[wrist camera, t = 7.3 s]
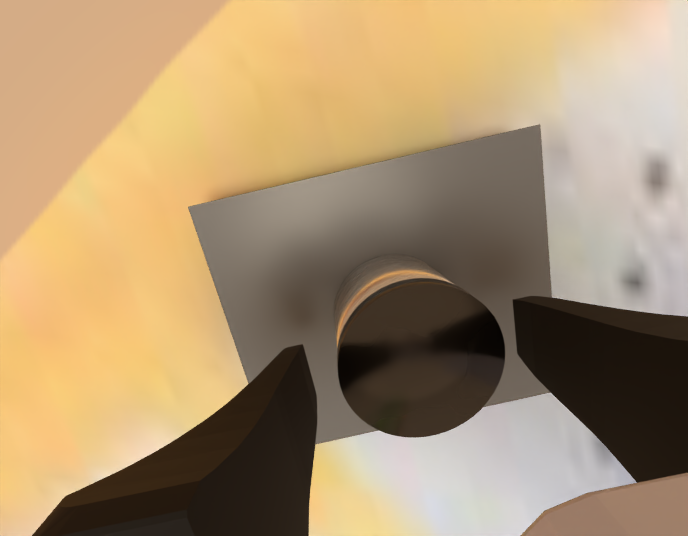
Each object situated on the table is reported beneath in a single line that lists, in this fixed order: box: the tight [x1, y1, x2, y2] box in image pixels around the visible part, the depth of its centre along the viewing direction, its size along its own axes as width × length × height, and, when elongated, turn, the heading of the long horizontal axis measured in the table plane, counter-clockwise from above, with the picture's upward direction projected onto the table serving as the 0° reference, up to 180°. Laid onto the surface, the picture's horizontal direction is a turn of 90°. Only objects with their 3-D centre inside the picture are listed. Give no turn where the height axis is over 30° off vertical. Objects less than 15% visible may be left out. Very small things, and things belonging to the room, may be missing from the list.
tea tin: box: [334, 254, 505, 437], centre depth 12 cm, size 5×5×4 cm
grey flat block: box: [188, 124, 552, 444], centre depth 16 cm, size 14×12×3 cm
